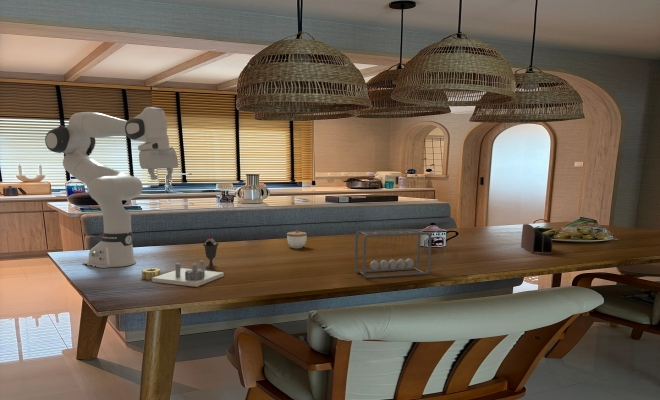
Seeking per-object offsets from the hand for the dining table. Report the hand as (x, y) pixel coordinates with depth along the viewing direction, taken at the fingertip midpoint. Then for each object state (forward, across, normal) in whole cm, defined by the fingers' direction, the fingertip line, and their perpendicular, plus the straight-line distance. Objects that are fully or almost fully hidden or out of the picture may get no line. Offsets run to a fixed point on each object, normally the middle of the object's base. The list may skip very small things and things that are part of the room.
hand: (161, 179), depth 203 cm
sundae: (+40, -11, +12) cm, 43 cm away
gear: (+38, +14, +2) cm, 41 cm away
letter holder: (+55, -111, +147) cm, 192 cm away
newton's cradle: (+48, -28, +87) cm, 104 cm away
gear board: (+40, +10, +16) cm, 44 cm away
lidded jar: (+42, -70, +26) cm, 86 cm away
